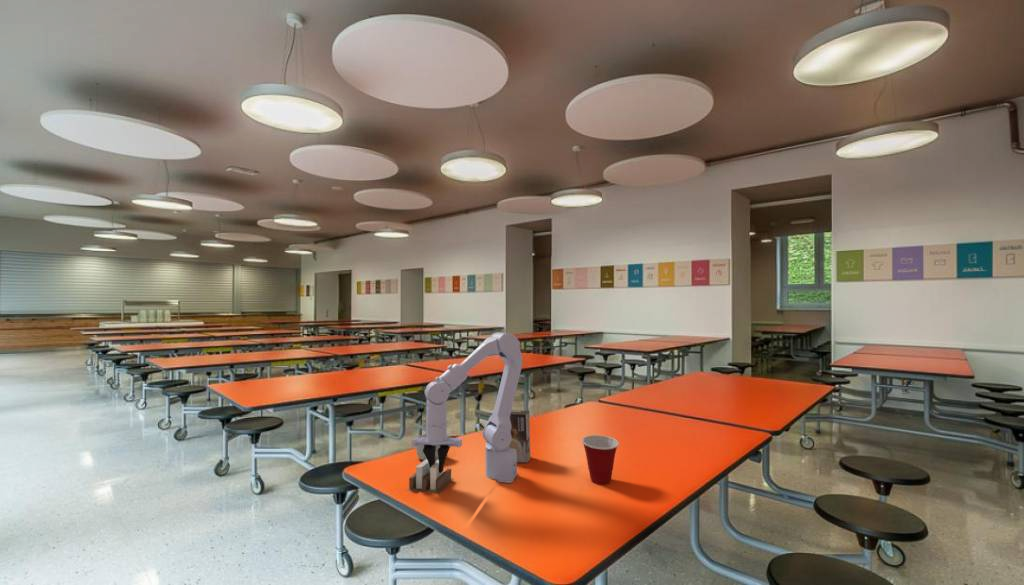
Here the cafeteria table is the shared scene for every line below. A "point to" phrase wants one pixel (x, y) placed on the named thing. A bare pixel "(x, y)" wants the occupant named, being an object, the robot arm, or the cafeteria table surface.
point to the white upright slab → (434, 475)
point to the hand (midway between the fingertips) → (437, 471)
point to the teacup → (420, 448)
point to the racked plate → (421, 473)
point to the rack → (440, 483)
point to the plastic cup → (600, 457)
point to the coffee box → (520, 434)
